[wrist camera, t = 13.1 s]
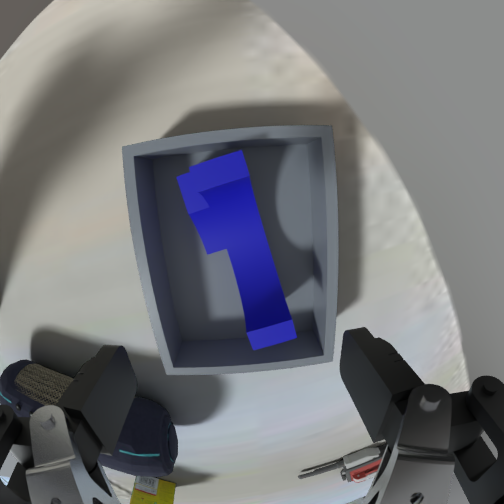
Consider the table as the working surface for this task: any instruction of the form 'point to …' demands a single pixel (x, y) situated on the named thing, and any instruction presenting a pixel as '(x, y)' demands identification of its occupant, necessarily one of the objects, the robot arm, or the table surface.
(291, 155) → the bin
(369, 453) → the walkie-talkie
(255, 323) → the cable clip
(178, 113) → the table surface
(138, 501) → the crayon box
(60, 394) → the portable speaker
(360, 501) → the product packaging
